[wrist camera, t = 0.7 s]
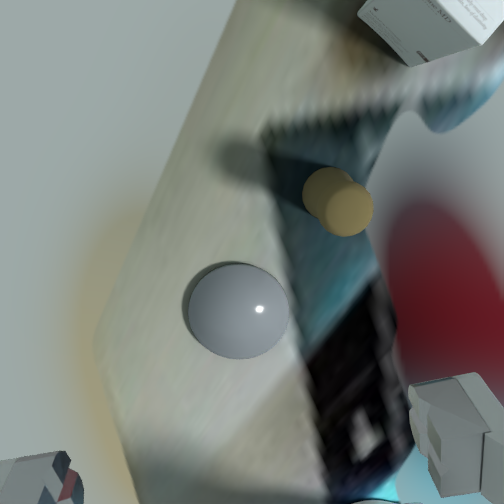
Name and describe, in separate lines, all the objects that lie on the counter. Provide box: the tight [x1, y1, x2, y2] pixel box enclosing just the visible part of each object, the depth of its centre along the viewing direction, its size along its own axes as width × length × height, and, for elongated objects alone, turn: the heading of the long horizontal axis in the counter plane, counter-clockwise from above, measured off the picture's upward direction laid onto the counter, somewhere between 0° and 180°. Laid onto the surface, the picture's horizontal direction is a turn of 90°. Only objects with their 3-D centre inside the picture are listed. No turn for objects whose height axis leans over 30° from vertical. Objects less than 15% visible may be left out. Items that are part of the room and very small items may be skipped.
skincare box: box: [357, 0, 504, 67], centre depth 40 cm, size 8×6×15 cm
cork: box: [302, 167, 373, 236], centre depth 47 cm, size 6×6×11 cm
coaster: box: [188, 264, 289, 359], centre depth 56 cm, size 12×12×1 cm
